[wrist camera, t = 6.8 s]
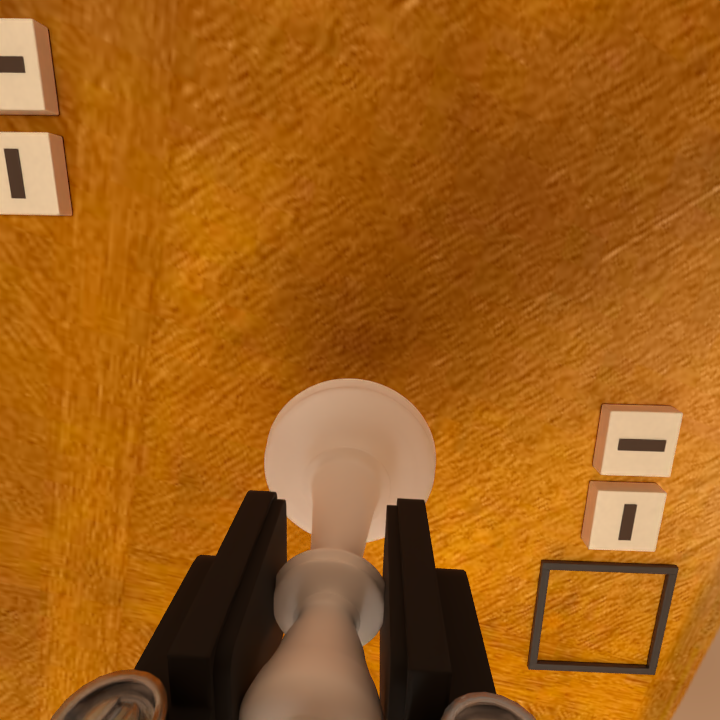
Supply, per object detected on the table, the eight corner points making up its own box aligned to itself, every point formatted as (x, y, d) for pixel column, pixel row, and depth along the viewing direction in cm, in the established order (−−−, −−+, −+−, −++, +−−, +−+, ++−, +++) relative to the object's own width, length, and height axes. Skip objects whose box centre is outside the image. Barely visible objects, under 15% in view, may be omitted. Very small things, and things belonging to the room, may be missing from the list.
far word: (562, 402, 29) (571, 410, 27) (710, 406, 28) (726, 415, 27) (527, 665, 34) (533, 682, 32) (652, 671, 33) (663, 688, 32)
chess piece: (378, 558, 15) (368, 1144, 5) (238, 482, 15) (-45, 978, 5) (469, 433, 14) (661, 909, 4) (318, 345, 13) (147, 656, 4)
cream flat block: (-30, 27, 24) (-52, 16, 23) (48, 27, 24) (30, 16, 23) (1, 214, 27) (-17, 213, 26) (73, 215, 27) (58, 215, 25)
